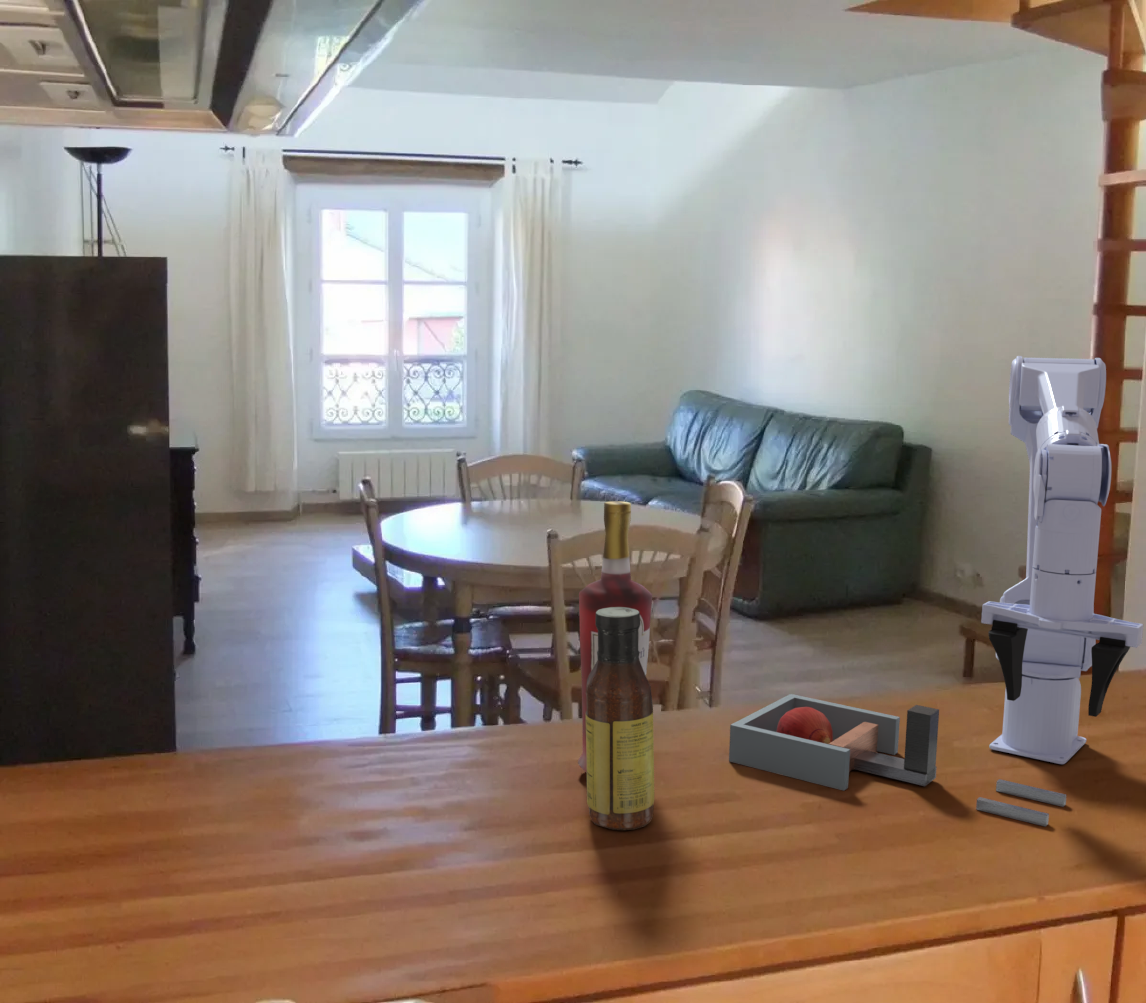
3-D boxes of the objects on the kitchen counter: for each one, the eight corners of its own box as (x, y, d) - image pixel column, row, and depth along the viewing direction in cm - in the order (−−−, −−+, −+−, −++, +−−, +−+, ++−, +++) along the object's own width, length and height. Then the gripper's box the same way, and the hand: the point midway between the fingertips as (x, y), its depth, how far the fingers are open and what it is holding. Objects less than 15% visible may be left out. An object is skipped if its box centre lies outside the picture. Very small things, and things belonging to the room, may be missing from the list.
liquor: (631, 759, 131) (638, 497, 127) (658, 784, 124) (666, 507, 120) (566, 765, 128) (570, 499, 124) (589, 791, 122) (594, 510, 117)
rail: (998, 788, 124) (999, 779, 124) (1065, 804, 120) (1066, 794, 120) (976, 809, 119) (976, 799, 119) (1045, 826, 115) (1046, 816, 115)
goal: (788, 727, 142) (790, 693, 141) (897, 752, 134) (899, 717, 134) (728, 761, 131) (730, 724, 130) (843, 790, 123) (845, 752, 122)
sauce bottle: (661, 812, 117) (667, 607, 114) (643, 838, 111) (648, 622, 108) (595, 802, 119) (599, 600, 116) (574, 827, 113) (577, 615, 110)
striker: (862, 750, 134) (866, 684, 133) (946, 769, 128) (950, 701, 127) (827, 773, 127) (830, 705, 126) (913, 795, 121) (918, 723, 120)
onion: (797, 730, 126) (752, 713, 133) (811, 780, 127) (766, 761, 134) (840, 706, 128) (794, 691, 135) (854, 755, 129) (808, 738, 136)
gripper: (975, 565, 120) (965, 700, 122) (1135, 586, 111) (1122, 731, 113) (998, 554, 125) (989, 684, 127) (1152, 574, 117) (1140, 713, 119)
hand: (1053, 705), depth 121 cm, fingers open, 7 cm apart
